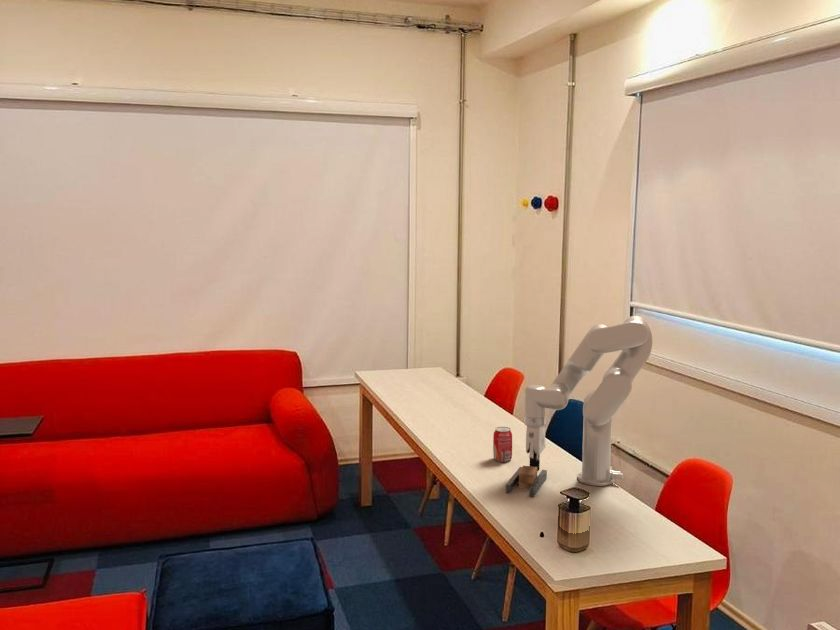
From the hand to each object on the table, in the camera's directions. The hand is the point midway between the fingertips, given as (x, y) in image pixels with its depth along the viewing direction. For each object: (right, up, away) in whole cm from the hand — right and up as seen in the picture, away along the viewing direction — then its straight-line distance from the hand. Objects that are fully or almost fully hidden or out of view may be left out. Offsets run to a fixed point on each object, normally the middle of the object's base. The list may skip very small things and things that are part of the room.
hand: (534, 470), depth 266 cm
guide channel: (-4, -3, -10) cm, 11 cm away
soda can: (-10, 0, +16) cm, 19 cm away
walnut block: (-3, -3, -8) cm, 9 cm away
